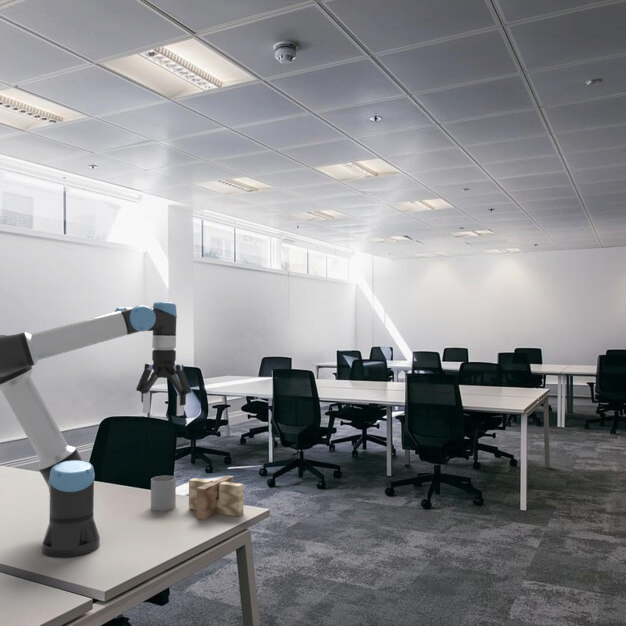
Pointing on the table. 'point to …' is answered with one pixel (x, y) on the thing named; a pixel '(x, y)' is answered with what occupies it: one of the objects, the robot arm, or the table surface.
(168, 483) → the cup
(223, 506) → the notched wooden slab
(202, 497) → the walnut plate
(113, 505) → the table surface
